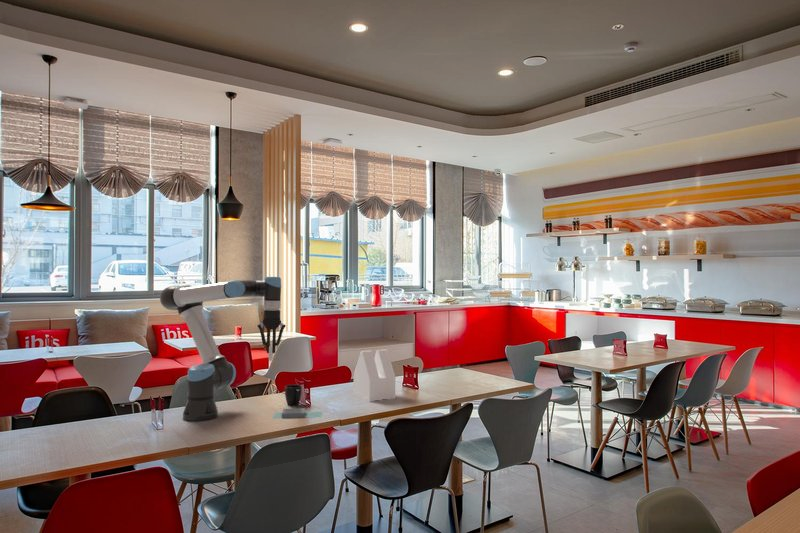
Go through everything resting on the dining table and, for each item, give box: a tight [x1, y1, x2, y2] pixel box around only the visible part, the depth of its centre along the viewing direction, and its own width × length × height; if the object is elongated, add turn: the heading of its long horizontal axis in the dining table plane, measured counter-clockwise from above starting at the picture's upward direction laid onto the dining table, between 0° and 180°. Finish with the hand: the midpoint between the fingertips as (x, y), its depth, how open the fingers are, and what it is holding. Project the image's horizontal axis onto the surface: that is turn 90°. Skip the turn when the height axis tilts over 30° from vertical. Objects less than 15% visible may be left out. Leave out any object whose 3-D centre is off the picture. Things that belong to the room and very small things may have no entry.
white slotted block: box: [352, 348, 396, 402], centre depth 297 cm, size 19×15×25 cm
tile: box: [281, 407, 306, 419], centre depth 254 cm, size 2×9×10 cm
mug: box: [284, 384, 303, 407], centre depth 274 cm, size 8×12×10 cm
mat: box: [272, 411, 323, 419], centre depth 254 cm, size 22×10×1 cm, turn 97°
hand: (270, 360), depth 256 cm, fingers closed
